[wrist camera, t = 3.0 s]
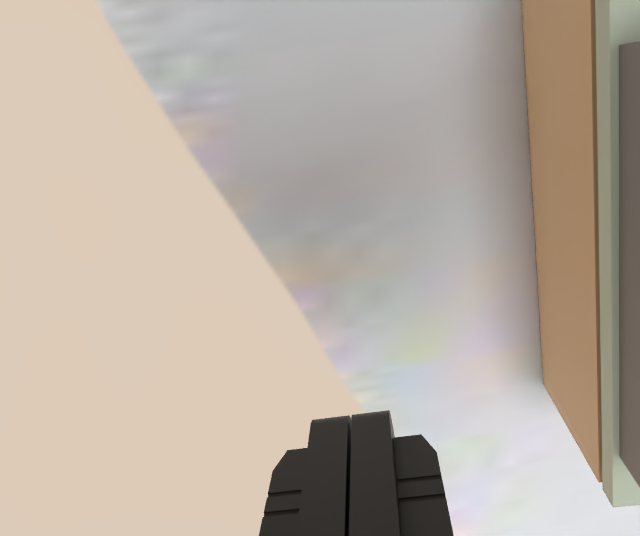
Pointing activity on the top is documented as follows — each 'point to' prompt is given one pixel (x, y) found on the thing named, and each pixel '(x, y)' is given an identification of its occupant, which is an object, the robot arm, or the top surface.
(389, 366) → the top surface
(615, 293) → the mailer lid
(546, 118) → the tray
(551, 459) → the top surface
